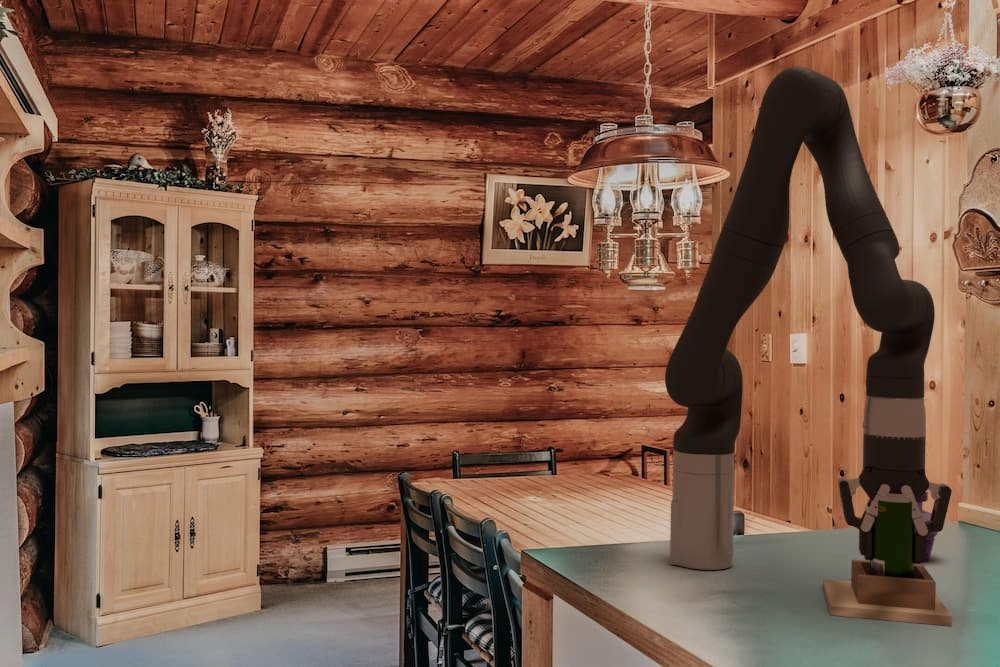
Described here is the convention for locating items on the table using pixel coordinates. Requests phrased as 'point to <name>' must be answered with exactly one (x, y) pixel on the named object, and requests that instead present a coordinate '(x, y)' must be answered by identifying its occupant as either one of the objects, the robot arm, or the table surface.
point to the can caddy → (886, 596)
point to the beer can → (893, 537)
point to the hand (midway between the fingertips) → (892, 560)
